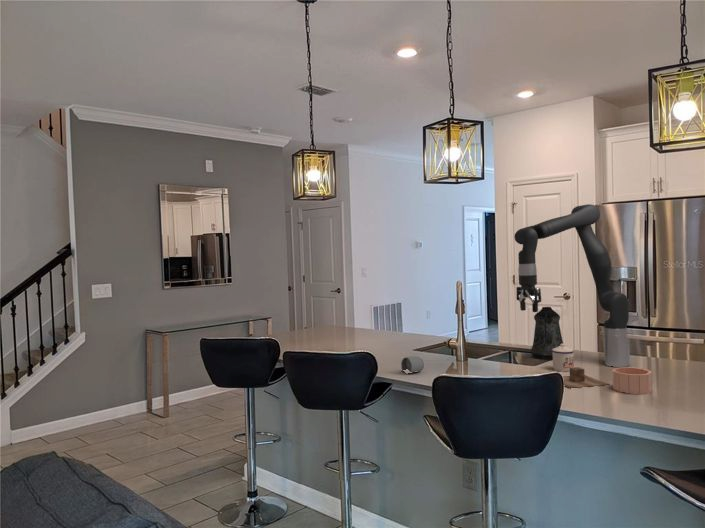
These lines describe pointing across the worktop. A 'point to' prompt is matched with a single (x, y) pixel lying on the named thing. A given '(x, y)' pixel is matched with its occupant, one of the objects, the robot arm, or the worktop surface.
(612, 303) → the robot arm
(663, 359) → the worktop surface
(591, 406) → the worktop surface
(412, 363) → the ceramic mug
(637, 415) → the worktop surface
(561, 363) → the teacup with lid
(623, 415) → the worktop surface
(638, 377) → the bowl
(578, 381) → the lid
